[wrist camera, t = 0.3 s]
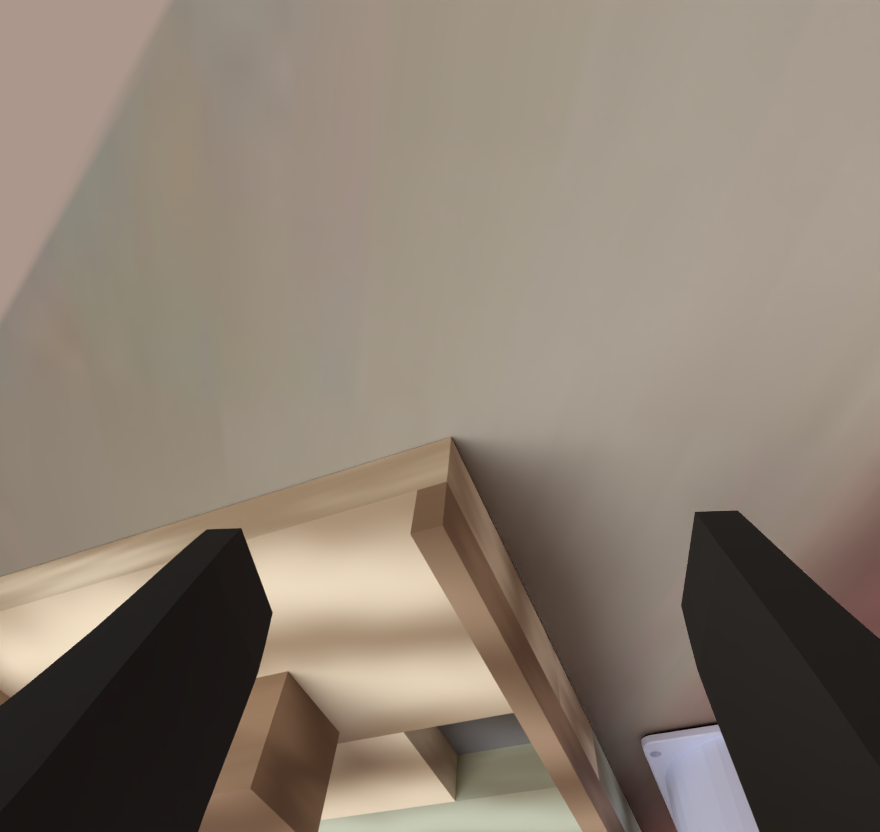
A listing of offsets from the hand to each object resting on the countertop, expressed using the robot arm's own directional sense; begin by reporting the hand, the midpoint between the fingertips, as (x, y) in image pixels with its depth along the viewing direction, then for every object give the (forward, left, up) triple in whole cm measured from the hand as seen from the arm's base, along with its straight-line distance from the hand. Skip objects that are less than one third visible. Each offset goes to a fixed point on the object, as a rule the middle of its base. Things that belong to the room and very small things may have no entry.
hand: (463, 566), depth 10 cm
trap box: (-18, +14, -10) cm, 25 cm away
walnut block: (-13, +14, -8) cm, 21 cm away
